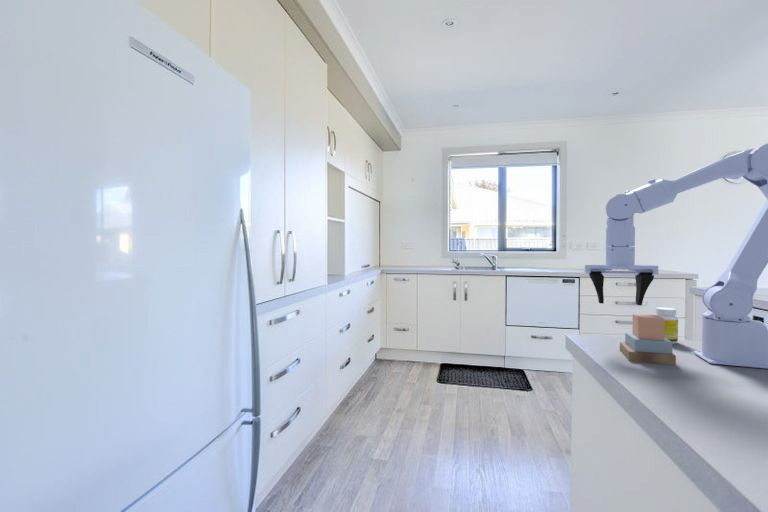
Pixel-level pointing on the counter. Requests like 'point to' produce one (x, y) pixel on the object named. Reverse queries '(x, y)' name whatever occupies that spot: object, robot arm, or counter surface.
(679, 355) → the counter surface
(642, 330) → the terracotta block
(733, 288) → the robot arm
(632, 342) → the slate middle block
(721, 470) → the counter surface
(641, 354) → the walnut base block
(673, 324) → the supplement bottle
